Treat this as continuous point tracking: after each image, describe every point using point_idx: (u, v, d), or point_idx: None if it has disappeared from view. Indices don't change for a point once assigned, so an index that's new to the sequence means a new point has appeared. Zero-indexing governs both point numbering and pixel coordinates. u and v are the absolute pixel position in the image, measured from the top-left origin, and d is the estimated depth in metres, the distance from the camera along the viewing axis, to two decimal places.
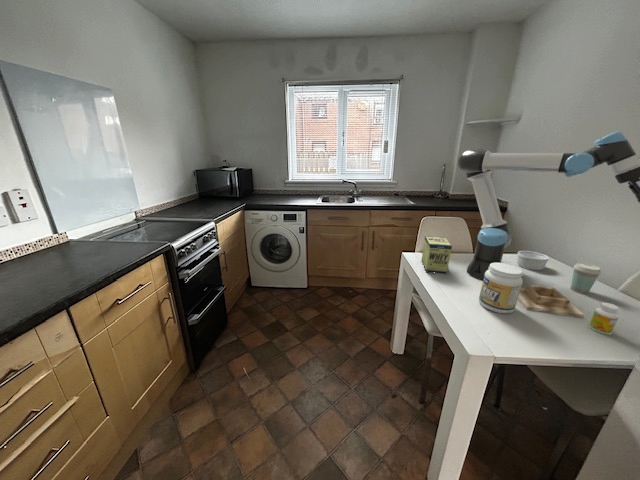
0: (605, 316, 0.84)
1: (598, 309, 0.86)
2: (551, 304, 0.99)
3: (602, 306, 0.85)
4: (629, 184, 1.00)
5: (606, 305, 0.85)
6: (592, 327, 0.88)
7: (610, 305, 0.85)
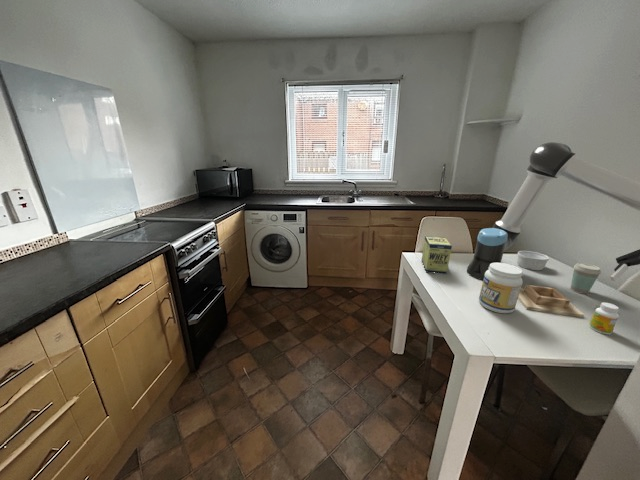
0: (605, 316, 0.84)
1: (598, 309, 0.86)
2: (551, 304, 0.99)
3: (602, 306, 0.85)
4: None
5: (606, 305, 0.85)
6: (592, 327, 0.88)
7: (610, 305, 0.85)
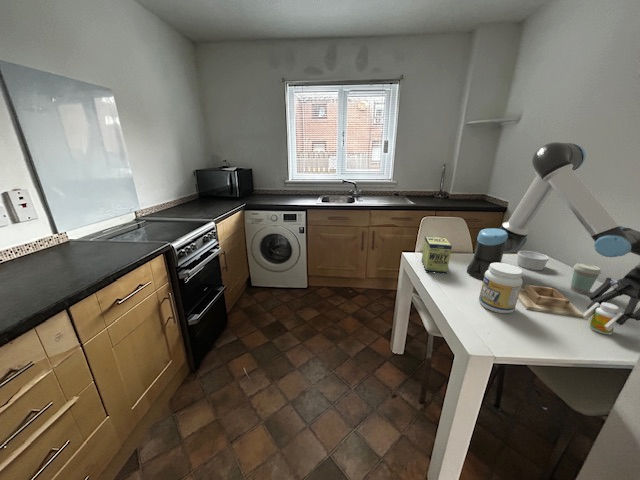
0: (605, 316, 0.84)
1: (598, 309, 0.86)
2: (551, 304, 0.99)
3: (602, 306, 0.85)
4: (610, 280, 0.89)
5: (606, 305, 0.85)
6: (592, 327, 0.88)
7: (610, 305, 0.85)
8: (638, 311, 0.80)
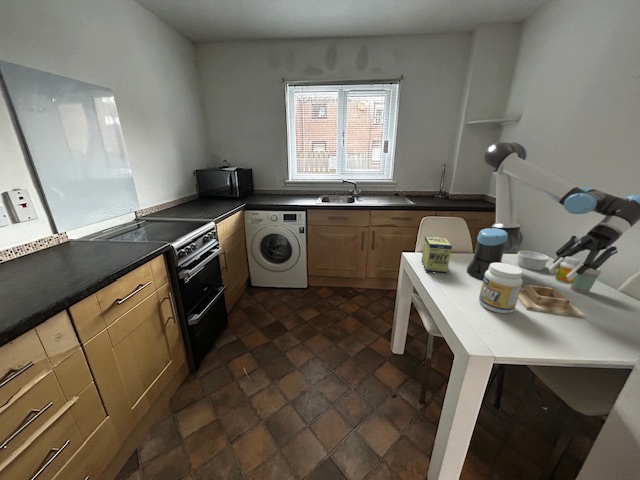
0: (567, 268, 0.93)
1: (562, 262, 0.95)
2: (551, 304, 0.99)
3: (565, 259, 0.94)
4: (575, 237, 0.98)
5: (569, 258, 0.94)
6: (557, 279, 0.97)
7: (572, 258, 0.94)
8: (595, 261, 0.89)
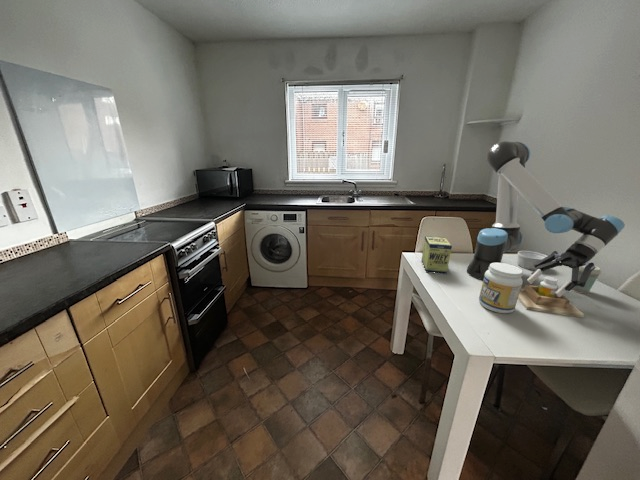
0: (546, 287, 1.00)
1: (542, 282, 1.02)
2: (551, 304, 0.99)
3: (545, 279, 1.01)
4: (556, 253, 1.05)
5: (548, 278, 1.01)
6: None
7: (551, 278, 1.01)
8: (581, 278, 0.93)
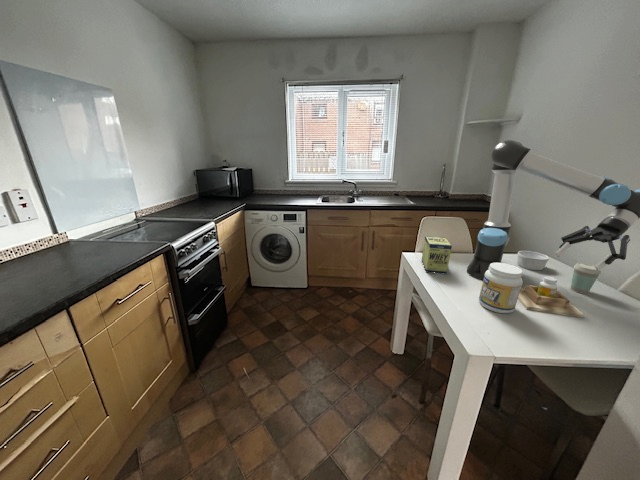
0: (546, 287, 1.00)
1: (541, 282, 1.03)
2: (551, 304, 0.99)
3: (544, 279, 1.01)
4: (587, 227, 1.05)
5: (547, 278, 1.01)
6: None
7: (551, 278, 1.01)
8: (621, 251, 0.92)
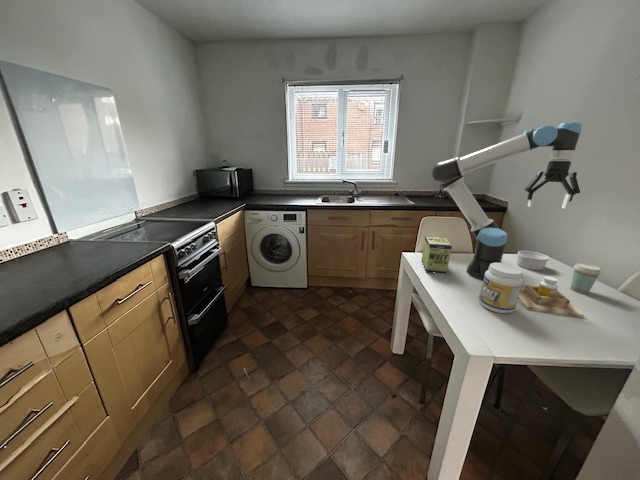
0: (546, 287, 1.00)
1: (542, 282, 1.03)
2: (551, 304, 0.99)
3: (544, 279, 1.01)
4: (542, 173, 1.14)
5: (547, 278, 1.01)
6: None
7: (551, 278, 1.01)
8: (577, 189, 1.13)
